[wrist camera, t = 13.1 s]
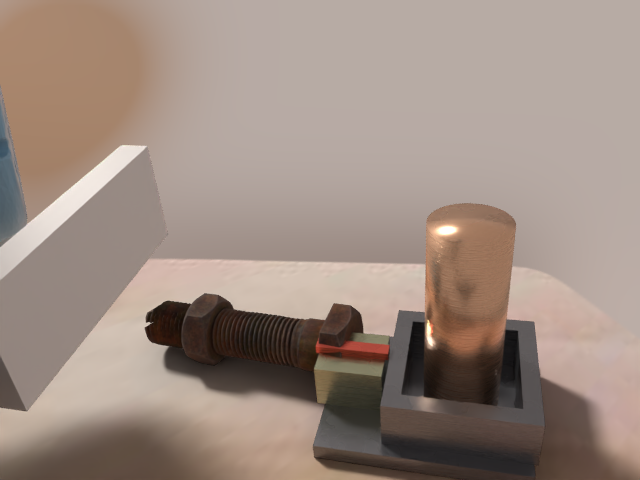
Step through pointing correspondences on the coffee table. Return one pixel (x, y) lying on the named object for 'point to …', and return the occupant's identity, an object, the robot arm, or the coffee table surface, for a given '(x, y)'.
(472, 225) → the pipe stub
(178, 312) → the bolt
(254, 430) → the coffee table surface
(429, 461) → the grey box on baseplate
